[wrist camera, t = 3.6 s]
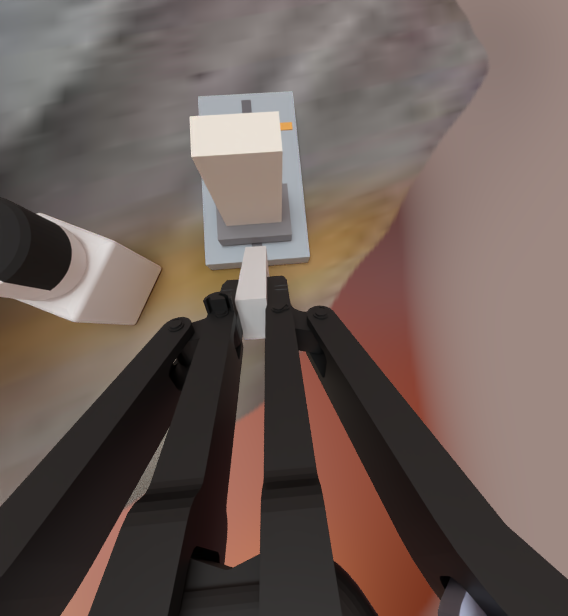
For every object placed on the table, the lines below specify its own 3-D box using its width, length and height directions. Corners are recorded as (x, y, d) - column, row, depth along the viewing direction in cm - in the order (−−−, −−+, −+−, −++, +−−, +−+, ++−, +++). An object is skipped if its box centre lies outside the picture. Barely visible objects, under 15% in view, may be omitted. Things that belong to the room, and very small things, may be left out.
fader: (221, 245, 24) (176, 178, 14) (219, 196, 25) (174, 97, 14) (291, 240, 24) (299, 170, 14) (286, 192, 25) (291, 91, 14)
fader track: (211, 270, 26) (205, 264, 24) (203, 112, 28) (197, 95, 26) (307, 262, 26) (309, 256, 24) (291, 107, 29) (292, 90, 27)
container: (106, 245, 26) (-63, 161, 13) (163, 267, 26) (48, 203, 13) (77, 303, 25) (-135, 272, 12) (136, 326, 25) (-17, 319, 12)
